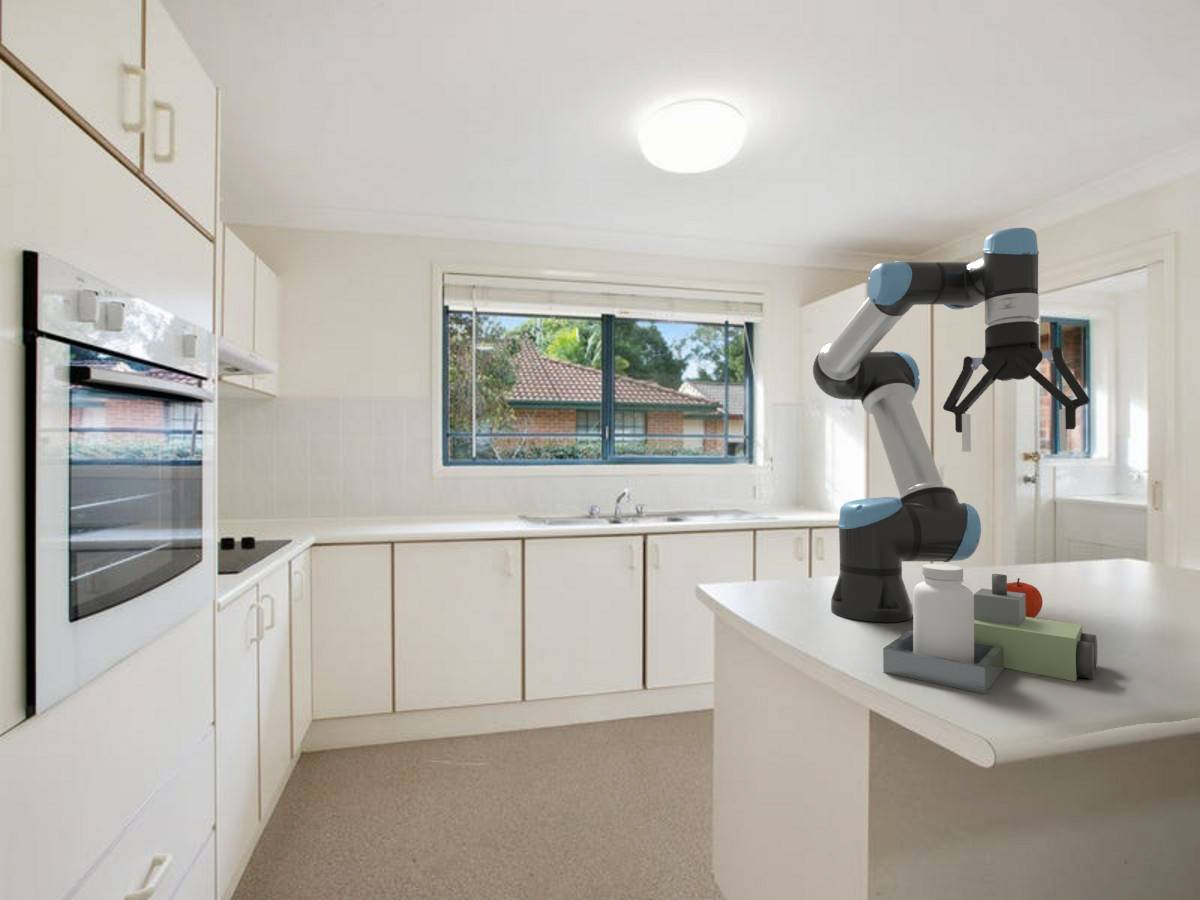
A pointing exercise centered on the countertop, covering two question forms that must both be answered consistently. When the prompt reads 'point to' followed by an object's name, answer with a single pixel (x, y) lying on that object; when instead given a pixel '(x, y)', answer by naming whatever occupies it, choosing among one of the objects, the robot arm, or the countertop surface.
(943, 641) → the pill bottle
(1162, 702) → the countertop surface
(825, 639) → the countertop surface
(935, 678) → the grey square tray
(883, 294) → the robot arm
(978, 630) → the green roller box
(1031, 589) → the apple
